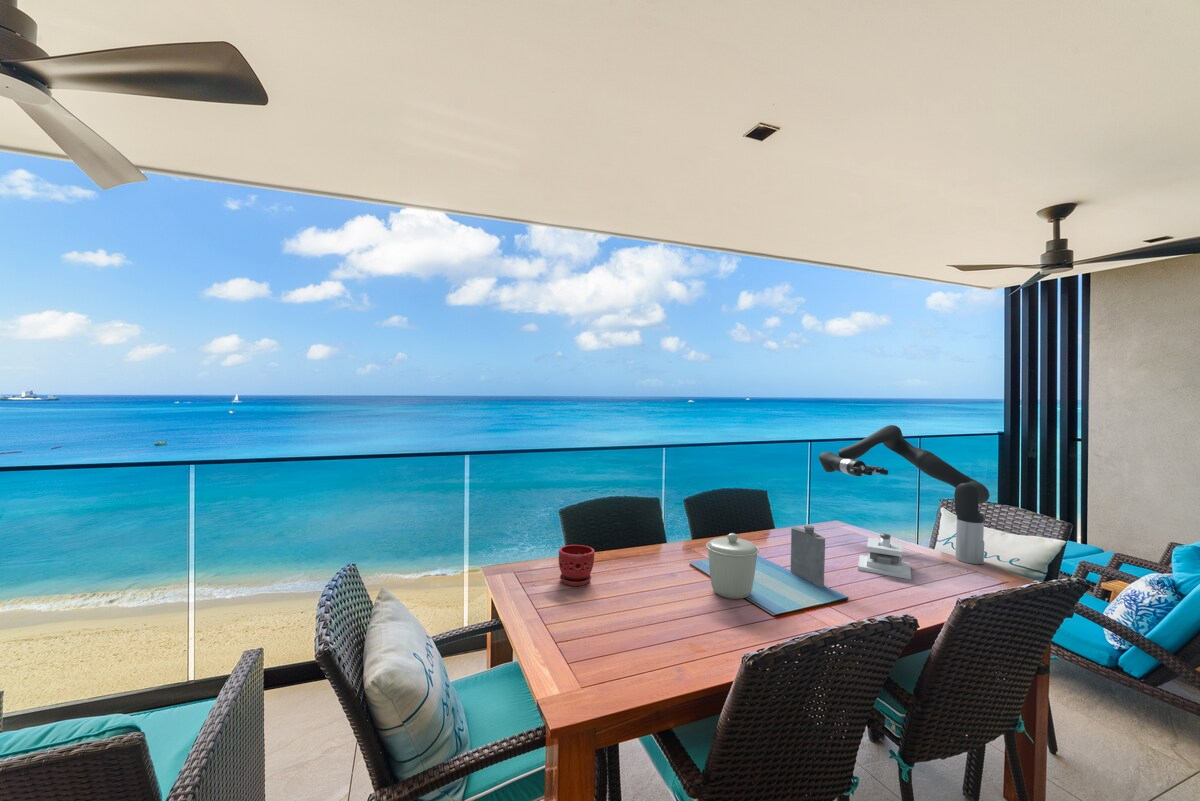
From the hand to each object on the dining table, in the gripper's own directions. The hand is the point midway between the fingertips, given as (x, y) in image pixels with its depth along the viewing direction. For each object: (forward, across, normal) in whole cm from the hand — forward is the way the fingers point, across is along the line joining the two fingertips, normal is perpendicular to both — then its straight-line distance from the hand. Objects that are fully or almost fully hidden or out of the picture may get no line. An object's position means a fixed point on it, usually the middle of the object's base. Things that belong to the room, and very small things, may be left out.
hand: (879, 472), depth 219 cm
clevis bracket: (+19, -15, +35) cm, 42 cm away
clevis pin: (+18, -15, +33) cm, 41 cm away
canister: (+26, -88, +35) cm, 98 cm away
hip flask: (+21, -52, +35) cm, 66 cm away
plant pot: (+4, -139, +35) cm, 143 cm away
